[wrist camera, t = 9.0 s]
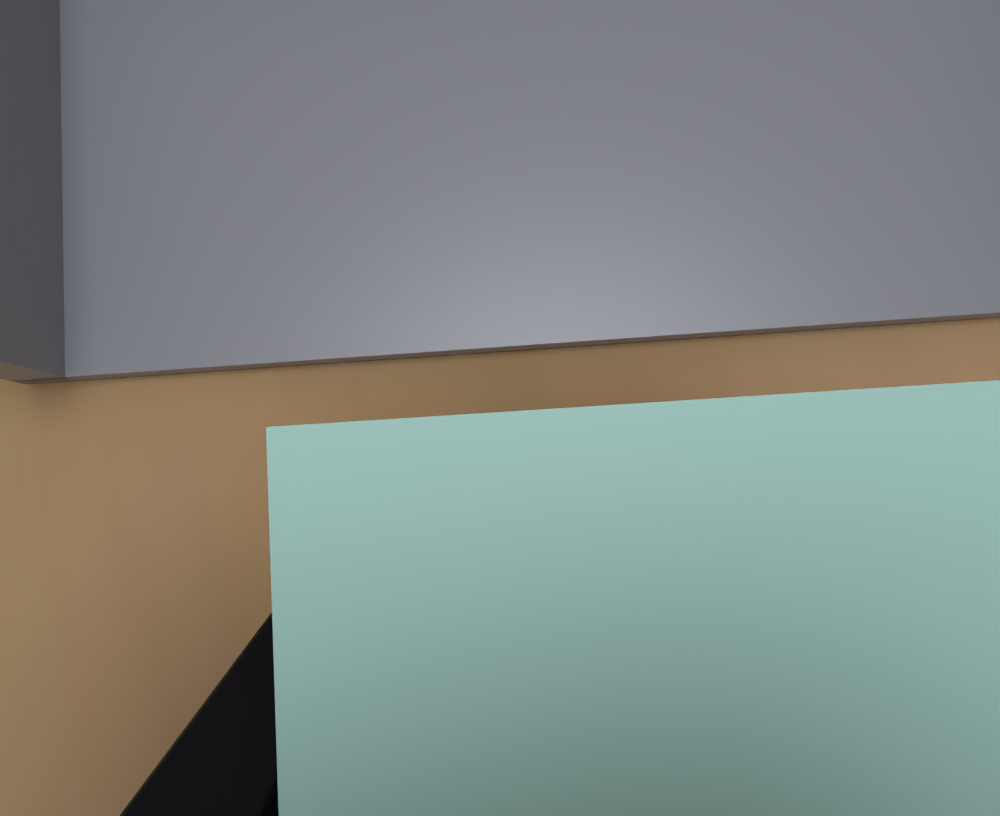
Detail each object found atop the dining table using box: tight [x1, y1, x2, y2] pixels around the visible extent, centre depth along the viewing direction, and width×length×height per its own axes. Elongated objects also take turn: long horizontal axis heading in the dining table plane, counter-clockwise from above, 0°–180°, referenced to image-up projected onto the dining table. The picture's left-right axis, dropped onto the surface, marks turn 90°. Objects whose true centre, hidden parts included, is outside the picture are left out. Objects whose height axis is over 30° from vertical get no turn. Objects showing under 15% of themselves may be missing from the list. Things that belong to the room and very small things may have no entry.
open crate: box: [0, 0, 1000, 384], centre depth 18 cm, size 12×24×5 cm, turn 94°
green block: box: [266, 380, 1000, 816], centre depth 11 cm, size 5×5×10 cm
